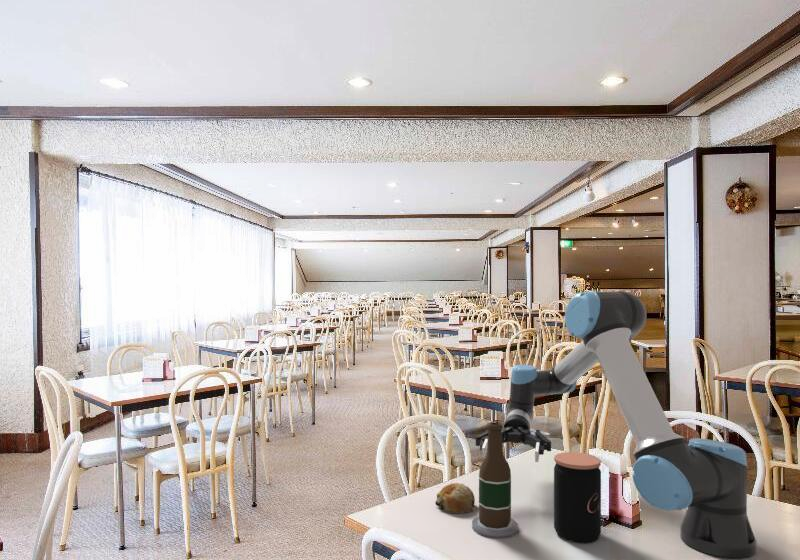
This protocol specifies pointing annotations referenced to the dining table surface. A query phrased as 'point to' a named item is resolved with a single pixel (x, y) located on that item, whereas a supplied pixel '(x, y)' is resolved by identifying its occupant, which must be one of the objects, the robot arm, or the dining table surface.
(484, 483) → the beer bottle
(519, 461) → the dining table surface
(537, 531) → the dining table surface
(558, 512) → the coffee jar
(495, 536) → the dish
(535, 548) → the dining table surface
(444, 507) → the bread roll
